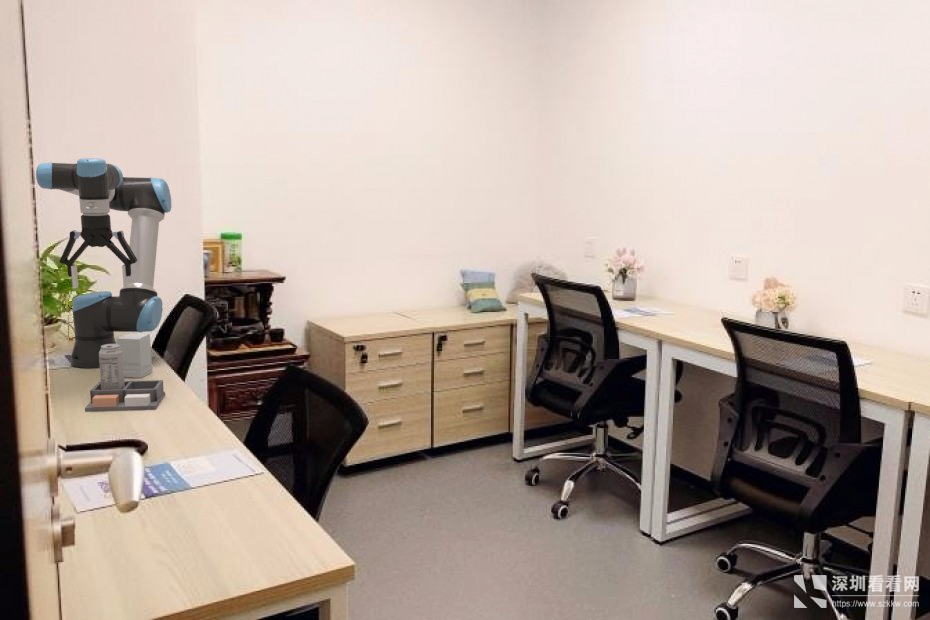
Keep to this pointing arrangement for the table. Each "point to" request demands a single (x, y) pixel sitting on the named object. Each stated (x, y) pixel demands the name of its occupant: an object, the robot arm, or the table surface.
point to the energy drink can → (111, 367)
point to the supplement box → (136, 354)
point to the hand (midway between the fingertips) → (101, 287)
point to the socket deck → (130, 390)
